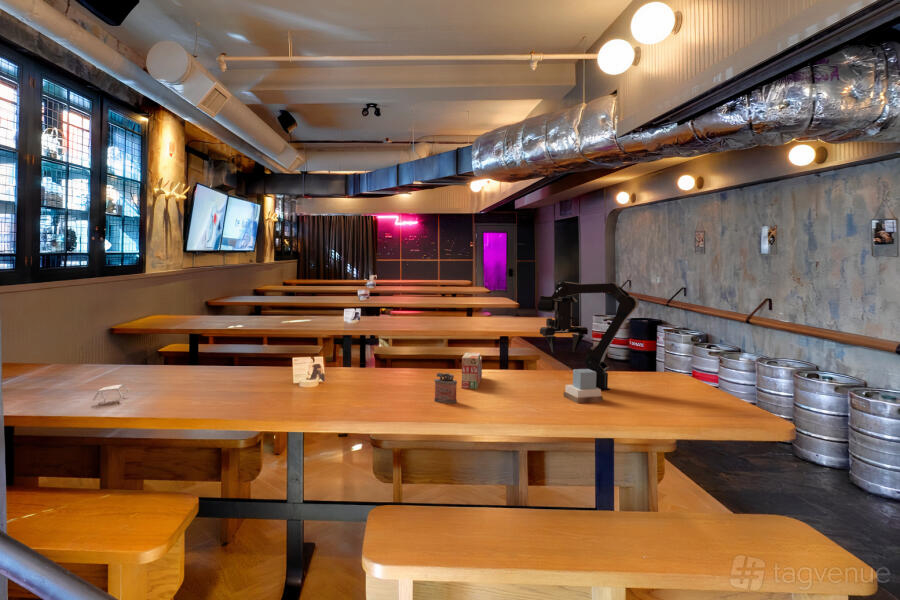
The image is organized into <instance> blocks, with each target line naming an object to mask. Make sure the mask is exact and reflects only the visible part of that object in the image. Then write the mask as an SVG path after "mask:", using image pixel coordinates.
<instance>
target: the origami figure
mask: <svg viewBox="0 0 900 600" xmlns="http://www.w3.org/2000/svg"><path fill="white" fill-rule="evenodd" d="M121 388H123V389H124V390H126V392H125V393H123V394H122V393H121V391H120V390H121ZM110 391H111V392H112V391H117V392H118V395H119V398H118V399H117V401H118V403H120V404H121V403H122V402H121V398H124V399H127V396H126V395H127V393H129V392H130V389H129V388H128V387H126V386H125V384H124V383H123V384H116V385H109V386H104V387H102V388H100V389H98V390H97V391H96V393H95V395H94V397H93V398H92V401H95V402H97V404H96V405H99V404H101V401H100V400H97V397H98V395H100V396H102V398H103V399H104V400H103V401H104V402H106V401H107V398H106V396H105V395H104V392H110Z"/></svg>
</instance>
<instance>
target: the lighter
mask: <svg viewBox="0 0 900 600" xmlns="http://www.w3.org/2000/svg"><path fill="white" fill-rule="evenodd" d="M436 377H438V378H434V400H433V401H434V402H436V403H445V404H457V403H458V400H457V383H458V380H455V379H454V377H455V375H454V374H450V373H449V372H446V373H443V372H437V373H436Z"/></svg>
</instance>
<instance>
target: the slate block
mask: <svg viewBox="0 0 900 600" xmlns="http://www.w3.org/2000/svg"><path fill="white" fill-rule="evenodd" d="M572 385H573V386H574V387H576V388H578V389H580V390H583V389H596V372H595V371H592V370H590V369H588V368H577V369H573V370H572Z"/></svg>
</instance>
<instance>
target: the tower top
mask: <svg viewBox="0 0 900 600" xmlns="http://www.w3.org/2000/svg"><path fill="white" fill-rule="evenodd" d="M564 392H567V393H569V394H571V395H573V396H575V397H577V398H582V397H598V396H602V390H601V389H599V388H596V389H583V390H580V389H578V388H576V387H574V386H573V384H565V390H564Z"/></svg>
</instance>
